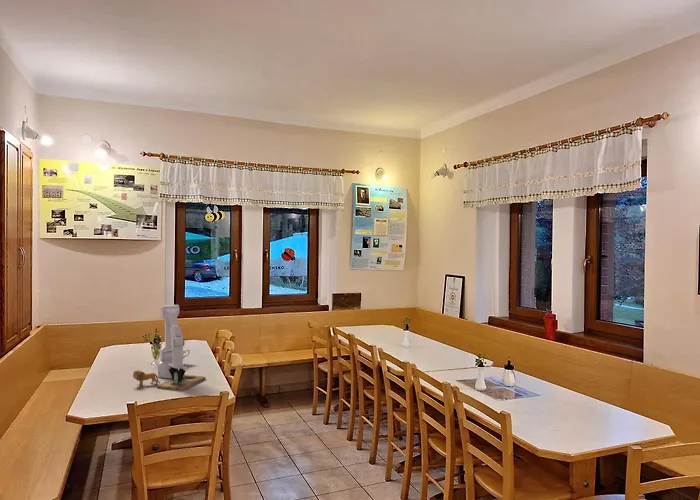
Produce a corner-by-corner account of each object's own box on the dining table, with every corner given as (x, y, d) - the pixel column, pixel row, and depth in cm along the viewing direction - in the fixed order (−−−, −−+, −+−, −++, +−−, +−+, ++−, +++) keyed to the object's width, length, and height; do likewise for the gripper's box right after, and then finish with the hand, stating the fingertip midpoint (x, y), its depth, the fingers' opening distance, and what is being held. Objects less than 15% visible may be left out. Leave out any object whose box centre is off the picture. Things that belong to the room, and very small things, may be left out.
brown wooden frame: (157, 388, 275) (157, 385, 275) (181, 376, 298) (182, 374, 298) (182, 391, 271) (182, 388, 271) (205, 379, 294) (205, 376, 294)
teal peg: (172, 384, 279) (172, 372, 279) (177, 383, 283) (177, 371, 283) (177, 385, 277) (177, 373, 277) (182, 384, 281) (183, 372, 281)
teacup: (189, 366, 323) (189, 351, 322) (165, 367, 318) (165, 352, 318) (189, 361, 334) (189, 347, 334) (166, 362, 330) (166, 348, 329)
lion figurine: (133, 387, 275) (133, 371, 275) (132, 385, 279) (132, 369, 279) (161, 384, 282) (161, 369, 282) (159, 382, 287) (159, 366, 287)
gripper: (192, 357, 280) (191, 381, 280) (173, 354, 286) (173, 377, 287) (182, 360, 274) (182, 384, 274) (164, 357, 280) (163, 380, 280)
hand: (177, 381), depth 280 cm, fingers closed on teal peg, 4 cm apart
